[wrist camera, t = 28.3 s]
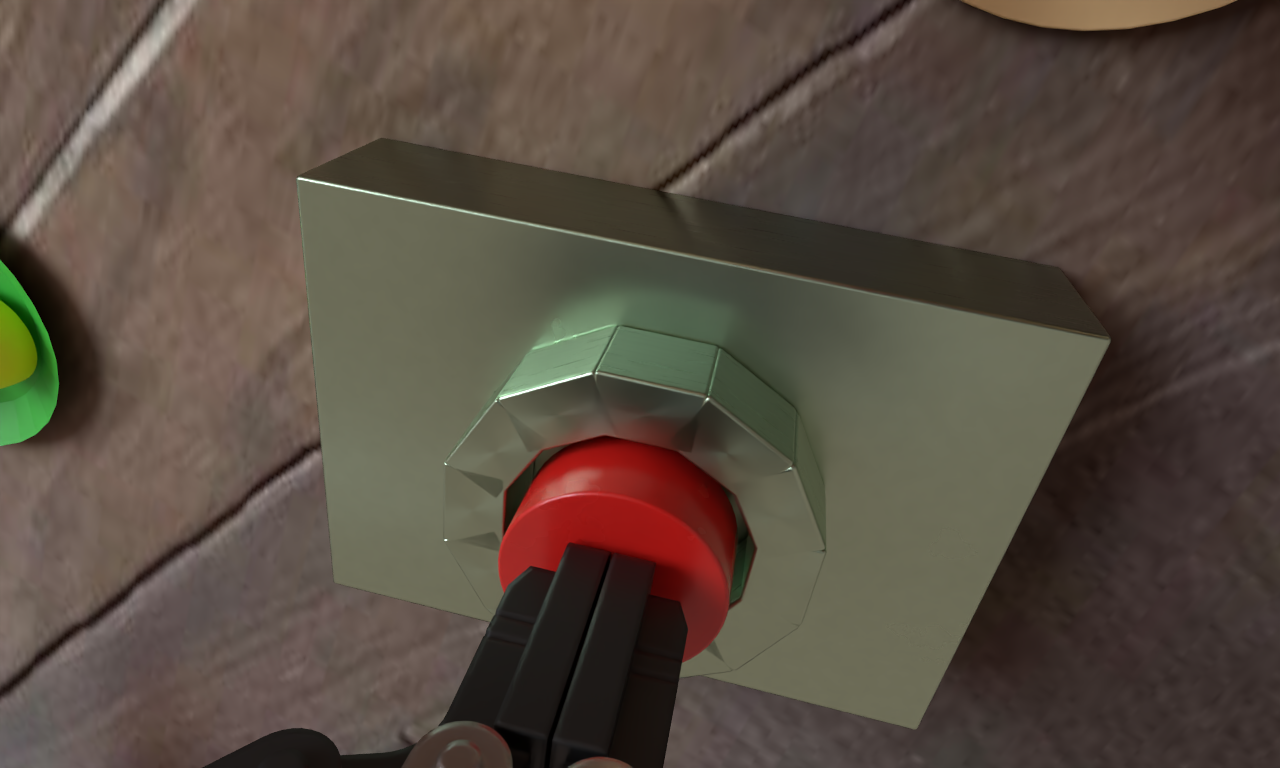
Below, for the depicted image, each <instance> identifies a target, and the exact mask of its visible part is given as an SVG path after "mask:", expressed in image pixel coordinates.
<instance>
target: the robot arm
mask: <svg viewBox="0 0 1280 768" xmlns="http://www.w3.org/2000/svg"><path fill="white" fill-rule="evenodd" d="M610 561H611V562H610ZM655 567H656V562H652V561H648V560H643V559H639V558H635V557H631V556H627V555H622V554H618V553H614V554H613V557H612V559H611V552H609V551H605V550H601V549H596V548H592V547H588V546H584V545H580V544H575V543H571V542H569V543H568V545H567V546H566V549H565V551H564V553H563V556H562V558H561V561H560V563H559V566H558V568H557V571H556V572H555V571H551V570H547V569H543V568H538V567H534V566H530V567H528V568H527V569H526V570H525V571H524V572H523V573H521V574H520V575H519V576H518V577H517V578H516V579H514V580H513V581H512V582H511V583H510V584H508V586H507V588H506V590H505V592H504V595H503V597H502V599H501V601H500V603H499V605H498V607H497V609H496V613H495V615H494V616H493V618H492V620H491V622H490V624H489V626H488V628H487V630H486V634H485V636H484V637H483V639H482V641H481V643H480V645H479V647H478V649H477V651H476V654H475V656H474V658H473V660H472V662H471V664H470V666H469V668H468V670H467V673H466V675H465V677H464V679H463V681H462V683H461V685H460V687H459V689H458V692H457V694H456V696H455V698H454V700H453V702H452V704H451V706H450V708H449V710H448V712H447V714H446V716H445V718H444V719H443V721H442V722H441V723H440V724H439V726H438V727H437V728H435V729H433V730H431V731H430V732H428V733H427V734H426V735H424V736H423V737H422V738H421V739H420V740H419V741H418V742H417V743H415V744H414V745H412V746H409V747H406V748H404V749H401V750H397V751H393V752H386V753H373V754H356V755H340V754H339V751H338V749H337V747H336V746H335V744H334V743H333V742H332V741H331V740H330V739H329V738H328V737H327V736H325V735H323V734H321V733H320V732H317V731H314V730H310V729H303V728H292V729H286V730H281V731H277V732H274V733H271V734H269V735H267V736H264V737H262V738H260V739H258V740H256V741H254V742H252V743H250V744H248V745H246V746H244V747H242V748H240V749H238V750H236V751H234V752H232V753H230V754H228V755H226V756H224V757H222V758H220V759H219V760H217V761H215V762H213V763H211V764H209V765H207V766H205V767H203V768H663V764H664V759H665V753H666V748H667V742H668V737H669V731H670V726H671V720H672V715H673V709H674V704H675V698H676V693H677V688H678V681H679V677H680V671H681V666H682V659H683V655H684V649H685V644H686V638H687V633H688V626H687V623H686V620H685V616H684V613H683V610H682V606H681V603H680V601H675V600H671V599H667V598H663V597H659V596H655V595H651V594H650V593H651V587H652V582H653V577H654V572H655Z"/></svg>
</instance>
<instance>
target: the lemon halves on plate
mask: <svg viewBox="0 0 1280 768" xmlns="http://www.w3.org/2000/svg"><path fill="white" fill-rule="evenodd" d="M58 388H59V379H58V371H57V362H56V358H55V354H54V351H53V348H52V345H51V342H50V338H49V335H48V333H47V331H46V329H45V327H44V324H43V322H42V320H41V318H40V316H39V314H38V312H37V310H36V308H35V306H34V305H33V303H32V302H31V300H30V299H29V297H28V296H27V294H26V293H25V291H24V290H23V288H22V287H21V285H20V284H19V282H18V281H17V279H16V278H15V276H14V275H13V274H12V273H11V272H10V271H9V269H8V268H7V267H6V266H5V265H4V264H3V262H2V261H1V260H0V446H3V445H8V444H13V443H19V442H22V441H24V440H26V439H28V438H30V437H32V436H34V435H36V434H37V433H38V432H39V431H40V430H41V429H42V428H43V427H44V426H45V425H46V424H47V423H48V422H49V420H50V418H51V416H52V413H53V411H54V409H55V407H56V404H57V396H58Z"/></svg>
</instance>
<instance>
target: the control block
mask: <svg viewBox="0 0 1280 768" xmlns="http://www.w3.org/2000/svg"><path fill="white" fill-rule="evenodd" d="M296 180H297V191H298V202H299V213H300V224H301V234H302V245H303V256H304V267H305V278H306V289H307V299H308V310H309V321H310V332H311V343H312V354H313V364H314V375H315V386H316V397H317V408H318V418H319V429H320V440H321V451H322V462H323V473H324V483H325V494H326V505H327V516H328V527H329V538H330V548H331V559H332V570H333V581H334V582H335V583H336V584H340V585H344V586H348V587H352V588H356V589H360V590H364V591H368V592H372V593H376V594H380V595H384V596H388V597H392V598H396V599H400V600H404V601H407V602H411V603H415V604H419V605H423V606H427V607H431V608H435V609H439V610H443V611H447V612H451V613H455V614H459V615H463V616H467V617H471V618H475V619H479V620H483V621H487V622H491V620H492V618H493V616H494V615H495V613H496V609H497V607H498V605H499V603H500V601H501V599H502V597H503V595H504V592H503V589H502V586H501V583H500V577H499V572H498V556H499V549H500V545H501V542H502V539H503V536H504V534H505V533H506V531H507V529H508V527H509V525H510V523H511V521H512V519H513V517H514V515H515V513H516V512H517V510H518V508H519V506H520V504H521V502H522V500H523V498H524V496H525V494H526V492H527V491H528V489H529V487H530V485H531V483H532V481H533V479H534V477H535V476H536V474H537V472H538V470H539V469H540V468H541V467H542V465H543V464H544V463H545V462H546V461H547V460H548V459H549V458H550V457H551V456H552V455H554V454H555V453H557V452H558V451H560V450H561V449H563V448H564V447H567V446H569V445H571V444H573V443H576V442H580V441H584V440H588V439H592V438H596V437H600V436H604V435H606V436H610V437H615V438H619V439H624V440H628V441H633V442H637V443H641V444H646V445H650V446H655V447H659V448H664V449H668V450H673V451H677V452H679V453H680V454H681V455H682V456H684V457H685V458H686V459H688V460H689V461H690V462H691V463H693V464H694V465H695V466H697V467H698V468H699V469H701V470H702V471H703V472H704V473H706V474H707V475H708V476H710V477H711V478H712V479H713V480H715V481H716V482H717V483H719V484H720V486H721V487H722V489H723V490H724V491H725V493H726V495H727V497H728V499H729V501H730V503H731V505H732V507H733V510H734V513H735V516H736V521H737V527H738V542H737V549H736V557H735V565H734V572H733V580H732V588H731V595H730V603H729V609H728V614H727V617H726V620H725V623H724V625H723V627H722V629H721V630H720V632H719V634H718V635H717V637H716V638H715V639H714V640H713V641H712V642H711V644H710V645H709V646H708V647H707V648H705V649H704V650H703V651H702V652H701V653H699V654H698V655H696V656H694V657H693V658H691V659H690V660H687V661H685V662H683V663H682V666H681V671H680V677H679V678H685V677H693V676H704V677H708V678H712V679H716V680H720V681H724V682H728V683H732V684H736V685H740V686H744V687H748V688H752V689H756V690H760V691H764V692H768V693H771V694H775V695H779V696H783V697H787V698H791V699H795V700H799V701H803V702H807V703H811V704H815V705H819V706H823V707H827V708H831V709H835V710H839V711H843V712H847V713H851V714H855V715H859V716H862V717H866V718H870V719H874V720H878V721H882V722H886V723H890V724H894V725H898V726H902V727H906V728H910V729H917V728H918V726H919V724H920V722H921V720H922V718H923V716H924V714H925V712H926V710H927V708H928V706H929V704H930V702H931V700H932V698H933V696H934V694H935V692H936V690H937V688H938V686H939V684H940V682H941V680H942V678H943V676H944V674H945V672H946V670H947V668H948V666H949V664H950V662H951V660H952V658H953V656H954V654H955V652H956V650H957V648H958V646H959V644H960V642H961V640H962V638H963V636H964V634H965V632H966V630H967V628H968V626H969V624H970V622H971V620H972V618H973V616H974V614H975V612H976V610H977V608H978V606H979V604H980V602H981V600H982V598H983V596H984V594H985V592H986V590H987V588H988V586H989V584H990V582H991V580H992V578H993V576H994V574H995V572H996V570H997V568H998V566H999V564H1000V562H1001V560H1002V558H1003V556H1004V554H1005V552H1006V550H1007V548H1008V546H1009V544H1010V542H1011V540H1012V538H1013V536H1014V534H1015V532H1016V530H1017V528H1018V526H1019V524H1020V522H1021V520H1022V518H1023V516H1024V514H1025V512H1026V510H1027V508H1028V506H1029V504H1030V502H1031V500H1032V498H1033V496H1034V494H1035V492H1036V490H1037V488H1038V486H1039V484H1040V482H1041V480H1042V478H1043V476H1044V474H1045V472H1046V470H1047V468H1048V466H1049V464H1050V462H1051V460H1052V458H1053V456H1054V454H1055V452H1056V450H1057V448H1058V446H1059V444H1060V442H1061V440H1062V438H1063V436H1064V434H1065V432H1066V430H1067V428H1068V426H1069V424H1070V422H1071V420H1072V418H1073V416H1074V414H1075V412H1076V410H1077V408H1078V406H1079V404H1080V402H1081V400H1082V398H1083V396H1084V394H1085V392H1086V390H1087V388H1088V386H1089V384H1090V382H1091V380H1092V378H1093V376H1094V374H1095V372H1096V370H1097V368H1098V366H1099V364H1100V362H1101V360H1102V358H1103V356H1104V354H1105V352H1106V350H1107V348H1108V346H1109V344H1110V342H1111V337H1110V335H1109V334H1108V333H1107V331H1106V330H1105V329H1104V327H1103V326H1102V325H1101V323H1100V322H1099V321H1098V319H1097V318H1096V317H1095V315H1094V314H1093V313H1092V311H1091V310H1090V308H1089V307H1088V306H1087V304H1086V303H1085V302H1084V300H1083V299H1082V298H1081V296H1080V295H1079V294H1078V292H1077V291H1076V290H1075V288H1074V287H1073V286H1072V284H1071V283H1070V281H1069V280H1068V279H1067V277H1066V276H1065V275H1064V273H1063V272H1062V271H1061V269H1059V268H1058V267H1053V266H1048V265H1043V264H1037V263H1032V262H1027V261H1022V260H1017V259H1011V258H1006V257H1001V256H996V255H990V254H985V253H980V252H975V251H970V250H964V249H959V248H954V247H949V246H943V245H938V244H933V243H928V242H923V241H917V240H912V239H907V238H902V237H896V236H891V235H886V234H881V233H876V232H870V231H865V230H860V229H855V228H849V227H844V226H839V225H834V224H829V223H823V222H818V221H813V220H808V219H803V218H797V217H792V216H787V215H782V214H776V213H771V212H766V211H761V210H756V209H750V208H745V207H740V206H735V205H729V204H724V203H719V202H714V201H709V200H703V199H698V198H693V197H688V196H682V195H677V194H672V193H667V192H662V191H656V190H651V189H646V188H641V187H635V186H630V185H625V184H620V183H615V182H609V181H604V180H599V179H594V178H589V177H583V176H578V175H573V174H568V173H562V172H557V171H552V170H547V169H542V168H536V167H531V166H526V165H521V164H515V163H510V162H505V161H500V160H495V159H489V158H484V157H479V156H474V155H468V154H463V153H458V152H453V151H448V150H442V149H437V148H432V147H427V146H422V145H416V144H411V143H406V142H401V141H395V140H390V139H385V138H380V139H377V140H375V141H373V142H371V143H369V144H366V145H364V146H362V147H360V148H358V149H355V150H353V151H351V152H349V153H347V154H345V155H342V156H340V157H338V158H336V159H334V160H331V161H329V162H327V163H325V164H323V165H320V166H318V167H316V168H314V169H312V170H309V171H307V172H305V173H303V174H301V175H298V176H297V179H296Z"/></svg>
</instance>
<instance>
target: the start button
mask: <svg viewBox="0 0 1280 768" xmlns="http://www.w3.org/2000/svg"><path fill="white" fill-rule="evenodd" d="M569 542H571V543H575V544H580V545H584V546H588V547H592V548H596V549H601V550H605V551H609V552H611V559H612V557H613V554H614V553H618V554H622V555H627V556H631V557H635V558H639V559H643V560H648V561H652V562H656V567H655V572H654V577H653V582H652V587H651V593H650V594H651V595H655V596H659V597H663V598H667V599H671V600H675V601H680V603H681V606H682V610H683V613H684V616H685V620H686V623H687V626H688V633H687V638H686V644H685V649H684V655H683V659H682V663H683V662H685V661H687V660H690V659H691V658H693V657H694V656H696V655H698V654H699V653H701V652H702V651H703V650H704V649H705V648H707V647H708V646H709V645H710V644H711V642H712V641H713V640H714V639H715V638H716V637H717V635H718V634H719V632H720V630H721V629H722V627H723V625H724V623H725V620H726V617H727V614H728V609H729V603H730V595H731V588H732V580H733V572H734V565H735V557H736V549H737V542H738V527H737V521H736V516H735V513H734V510H733V507H732V505H731V503H730V501H729V499H728V497H727V495H726V493H725V491H724V490H723V489H722V487H721V486H720V484H719V483H717V482H716V481H715V480H713V479H712V478H711V477H710V476H708V475H707V474H706V473H704V472H703V471H702V470H701V469H699V468H698V467H697V466H695V465H694V464H693V463H691V462H690V461H689V460H688V459H686V458H685V457H684V456H682V455H681V454H680V453H679V452H677V451H673V450H668V449H664V448H659V447H655V446H650V445H646V444H641V443H637V442H633V441H628V440H624V439H619V438H615V437H610V436H606V435H604V436H600V437H596V438H592V439H588V440H584V441H580V442H576V443H573V444H571V445H569V446H567V447H564V448H563V449H561V450H560V451H558V452H557V453H555V454H554V455H552V456H551V457H550V458H549V459H548V460H547V461H546V462H545V463H544V464H543V465H542V467H541V468H540V469H539V470H538V472H537V474H536V476H535V477H534V479H533V481H532V483H531V485H530V487H529V489H528V491H527V492H526V494H525V496H524V498H523V500H522V502H521V504H520V506H519V508H518V510H517V512H516V513H515V515H514V517H513V519H512V521H511V523H510V525H509V527H508V529H507V531H506V533H505V534H504V536H503V539H502V542H501V545H500V549H499V556H498V572H499V577H500V583H501V586H502V589H503V592H505V590H506V588H507V586H508V584H510V583H511V582H512V581H513V580H514V579H516V578H517V577H518V576H519V575H520V574H521V573H523V572H524V571H525V570H526V569H527V568H528V567H530V566H534V567H538V568H543V569H547V570H551V571H555V572H556V571H557V568H558V566H559V563H560V561H561V558H562V556H563V553H564V551H565V549H566V546H567V545H568V543H569ZM610 562H611V561H610Z"/></svg>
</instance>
